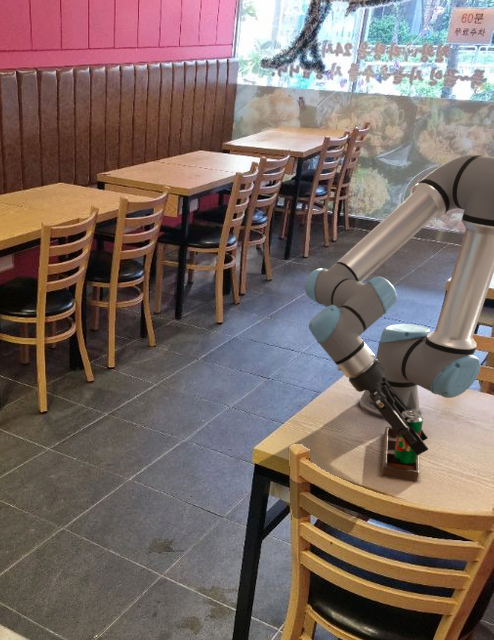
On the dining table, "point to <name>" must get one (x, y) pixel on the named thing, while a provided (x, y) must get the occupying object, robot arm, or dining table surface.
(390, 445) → the caddy
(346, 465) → the dining table surface
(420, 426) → the soda can
